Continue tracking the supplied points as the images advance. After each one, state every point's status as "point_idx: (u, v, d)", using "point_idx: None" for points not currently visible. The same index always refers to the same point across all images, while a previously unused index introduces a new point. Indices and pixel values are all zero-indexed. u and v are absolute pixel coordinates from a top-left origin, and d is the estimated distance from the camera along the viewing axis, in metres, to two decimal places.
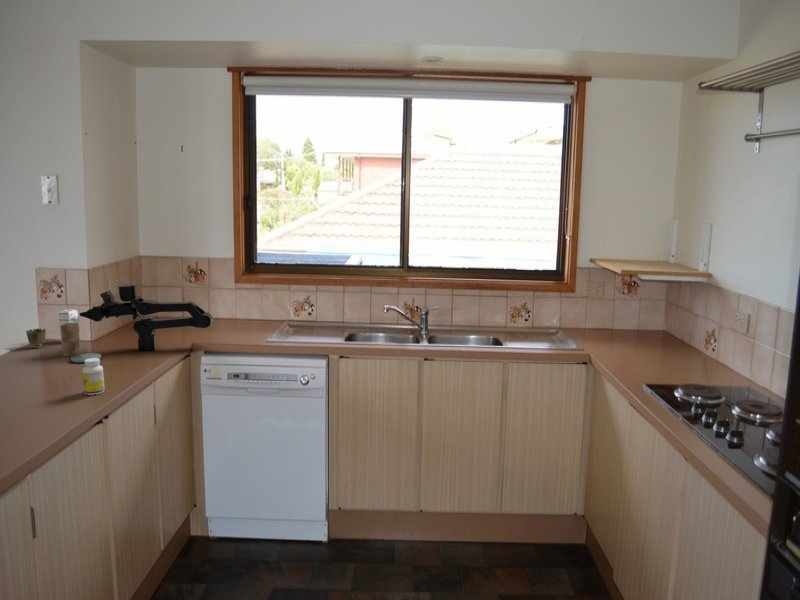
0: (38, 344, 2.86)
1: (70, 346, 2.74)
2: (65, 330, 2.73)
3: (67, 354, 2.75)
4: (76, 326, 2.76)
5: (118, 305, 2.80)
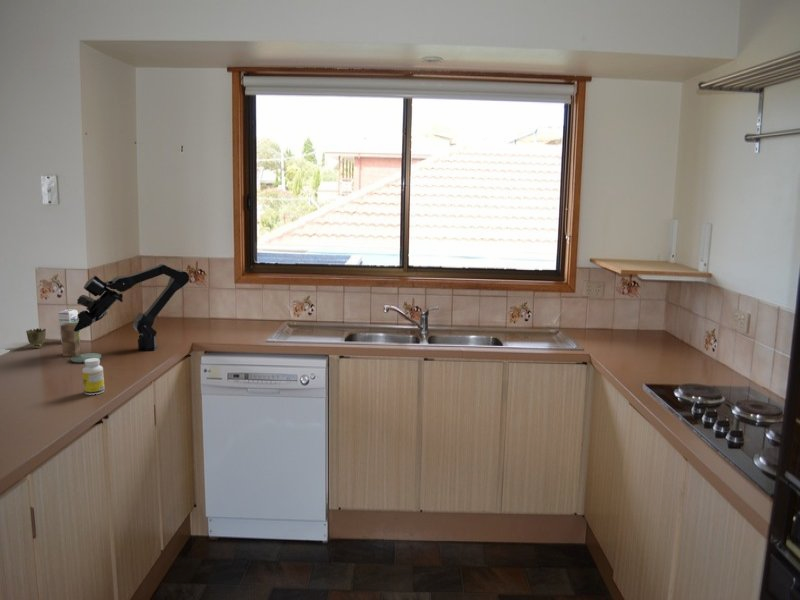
0: (38, 344, 2.86)
1: (70, 346, 2.74)
2: (65, 330, 2.73)
3: (67, 354, 2.75)
4: None
5: (98, 300, 2.73)
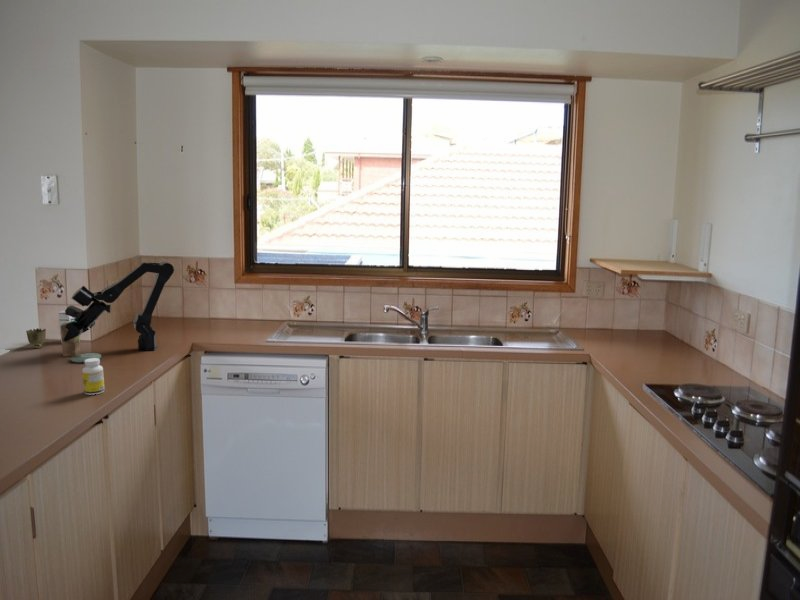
0: (38, 344, 2.86)
1: (70, 346, 2.74)
2: (65, 330, 2.73)
3: (67, 354, 2.75)
4: None
5: (86, 311, 2.73)
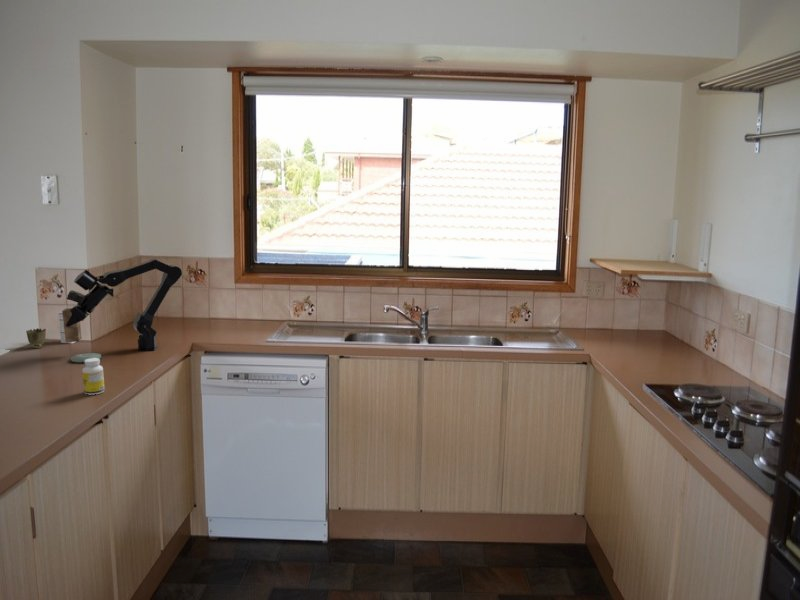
0: (38, 344, 2.86)
1: (73, 331, 2.71)
2: (67, 315, 2.69)
3: (70, 340, 2.71)
4: None
5: (89, 295, 2.70)
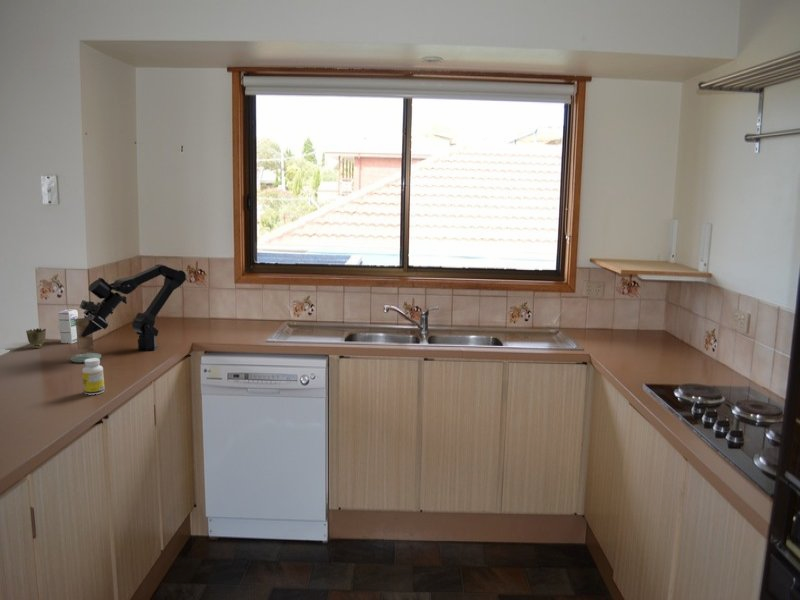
0: (38, 344, 2.86)
1: (88, 341, 2.67)
2: (83, 325, 2.64)
3: (85, 350, 2.66)
4: None
5: (104, 303, 2.69)
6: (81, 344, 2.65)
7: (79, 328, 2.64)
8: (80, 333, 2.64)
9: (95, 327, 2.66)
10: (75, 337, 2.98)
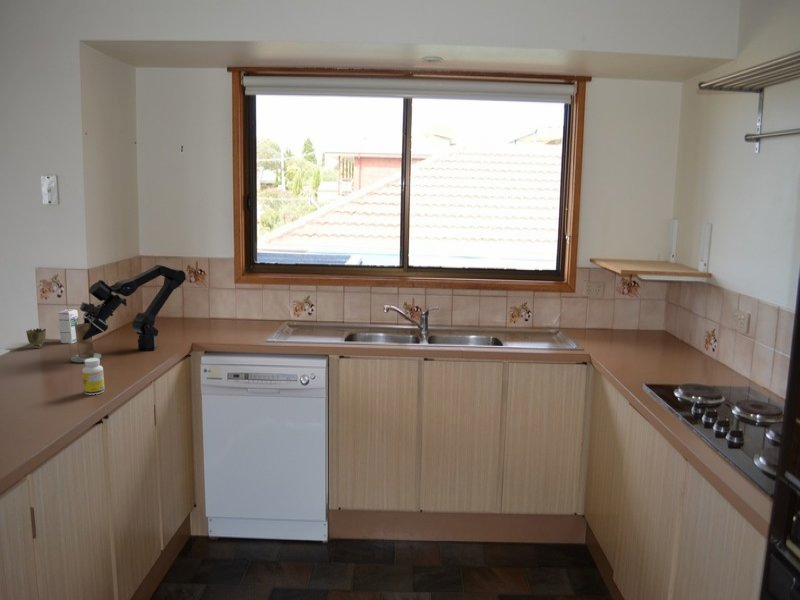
0: (38, 344, 2.86)
1: (88, 347, 2.67)
2: (82, 331, 2.65)
3: (85, 355, 2.67)
4: None
5: (104, 305, 2.69)
6: (81, 349, 2.66)
7: (78, 333, 2.64)
8: (80, 338, 2.65)
9: (96, 330, 2.64)
10: (75, 337, 2.98)
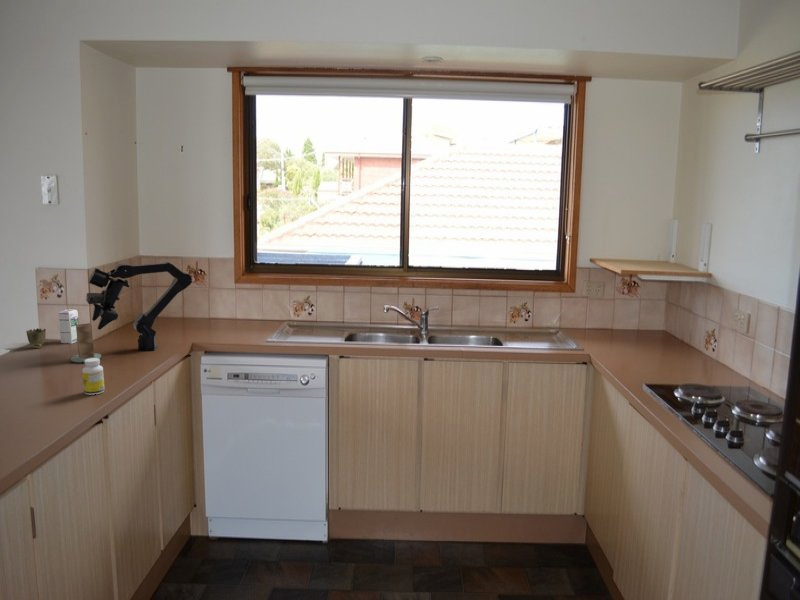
0: (38, 344, 2.86)
1: (88, 347, 2.67)
2: (83, 331, 2.65)
3: (85, 356, 2.67)
4: None
5: (108, 293, 2.74)
6: (81, 350, 2.66)
7: (79, 334, 2.64)
8: (80, 339, 2.65)
9: (108, 319, 2.74)
10: (75, 337, 2.98)
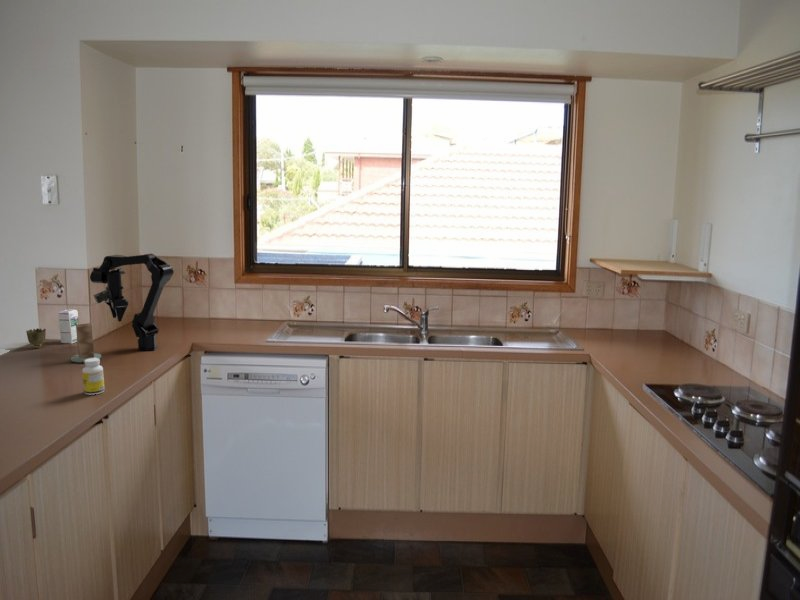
0: (38, 344, 2.86)
1: (88, 347, 2.67)
2: (83, 331, 2.65)
3: (85, 356, 2.67)
4: None
5: (110, 286, 2.84)
6: (81, 350, 2.66)
7: (79, 334, 2.64)
8: (80, 339, 2.65)
9: (122, 308, 2.84)
10: (75, 337, 2.98)
